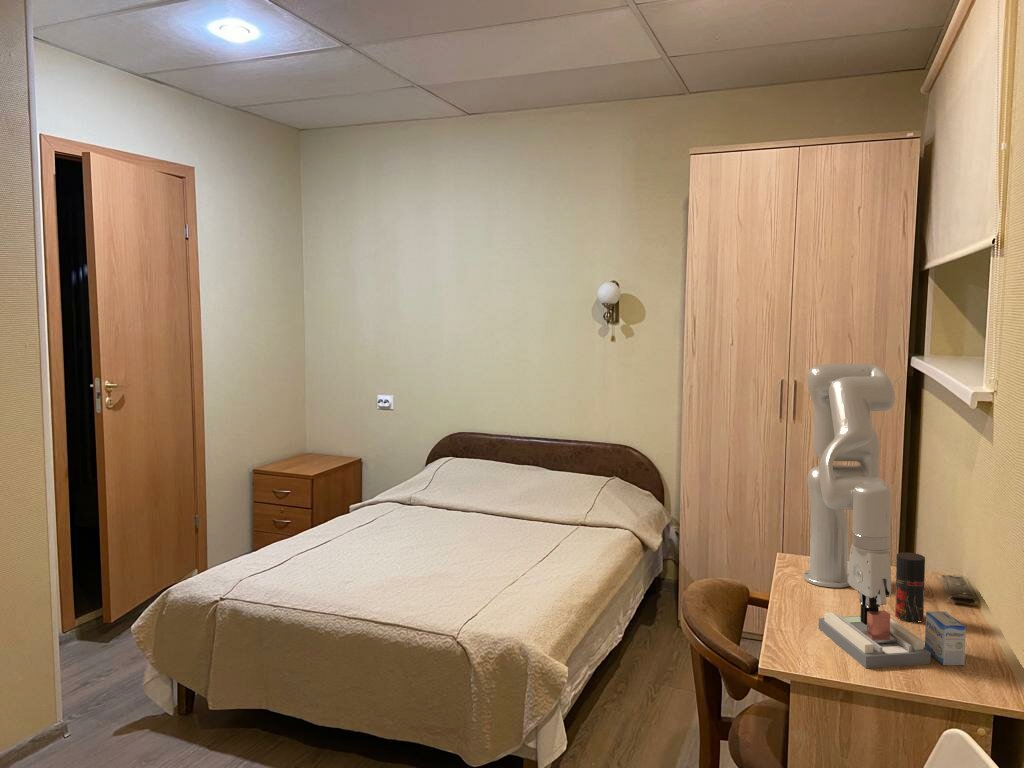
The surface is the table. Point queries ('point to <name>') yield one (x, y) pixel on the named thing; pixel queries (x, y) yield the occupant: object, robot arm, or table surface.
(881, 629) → the lever
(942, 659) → the medicine box
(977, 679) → the table surface
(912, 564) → the deodorant
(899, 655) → the breaker panel
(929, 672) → the table surface
